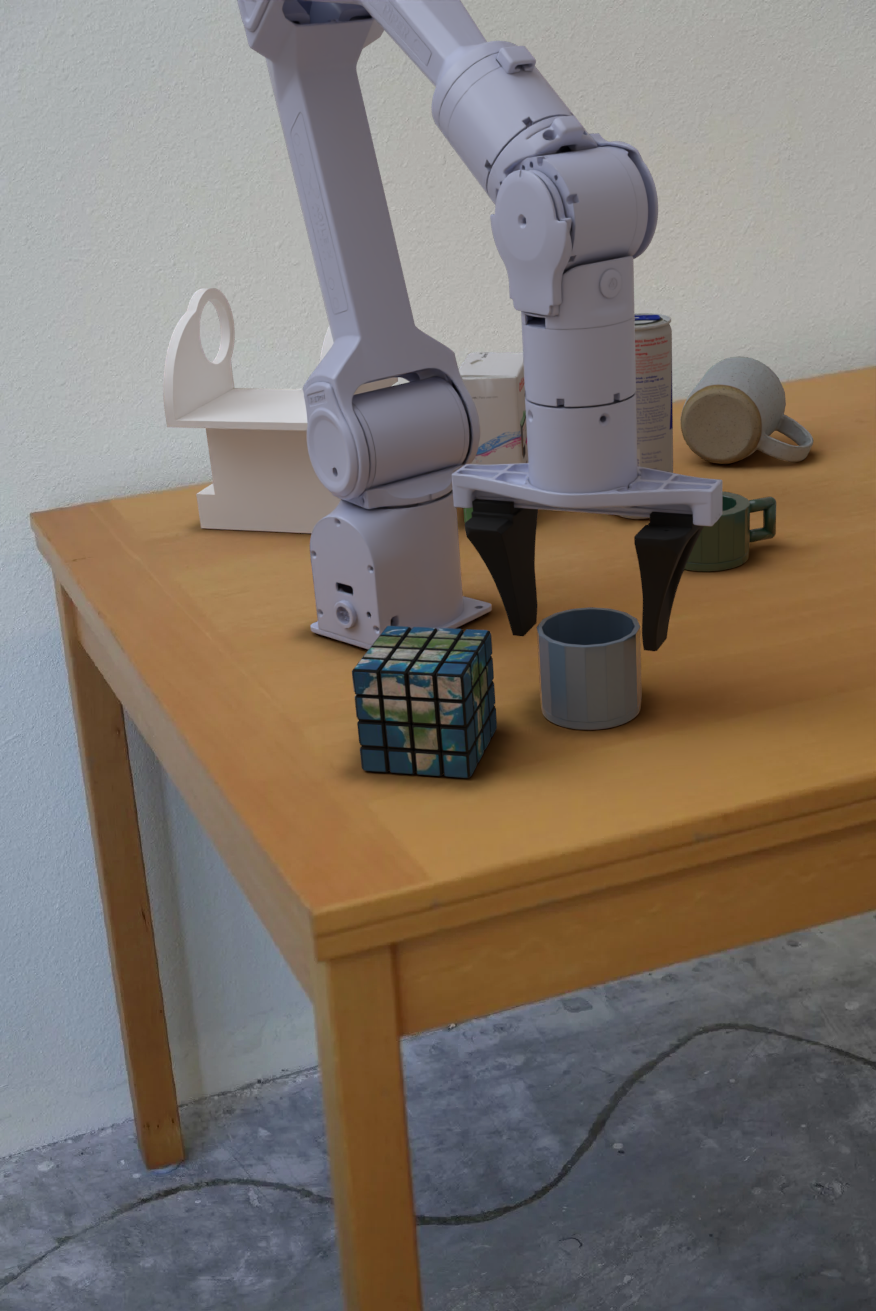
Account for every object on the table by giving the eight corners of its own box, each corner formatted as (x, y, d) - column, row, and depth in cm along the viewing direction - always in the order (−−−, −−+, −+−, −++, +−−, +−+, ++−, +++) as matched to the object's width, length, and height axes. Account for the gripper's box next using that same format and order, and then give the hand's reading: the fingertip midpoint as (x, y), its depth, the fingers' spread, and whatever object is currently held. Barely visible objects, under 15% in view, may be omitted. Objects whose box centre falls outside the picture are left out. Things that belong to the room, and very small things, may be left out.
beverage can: (672, 499, 117) (670, 308, 111) (675, 520, 112) (673, 321, 106) (607, 502, 117) (601, 312, 111) (607, 522, 113) (601, 325, 107)
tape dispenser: (183, 539, 116) (149, 309, 109) (254, 489, 127) (227, 277, 120) (349, 547, 112) (325, 307, 105) (407, 495, 123) (389, 275, 116)
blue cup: (600, 739, 80) (598, 654, 78) (521, 713, 83) (516, 632, 81) (660, 702, 83) (659, 620, 81) (581, 679, 87) (578, 600, 85)
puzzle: (470, 780, 77) (463, 675, 74) (361, 772, 78) (350, 669, 76) (497, 728, 82) (491, 628, 79) (395, 722, 84) (385, 624, 81)
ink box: (526, 525, 114) (518, 373, 109) (462, 526, 114) (452, 375, 110) (536, 491, 121) (529, 348, 116) (476, 492, 122) (467, 350, 117)
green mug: (687, 577, 101) (687, 521, 99) (651, 551, 106) (650, 498, 105) (795, 557, 103) (796, 502, 101) (755, 533, 108) (755, 480, 107)
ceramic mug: (675, 466, 125) (676, 376, 122) (698, 439, 131) (700, 353, 128) (802, 474, 121) (806, 381, 118) (819, 446, 127) (824, 358, 124)
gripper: (738, 380, 77) (736, 622, 82) (482, 372, 83) (496, 598, 88) (700, 415, 71) (701, 673, 76) (428, 403, 77) (446, 643, 82)
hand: (588, 636), depth 82 cm, fingers open, 7 cm apart
